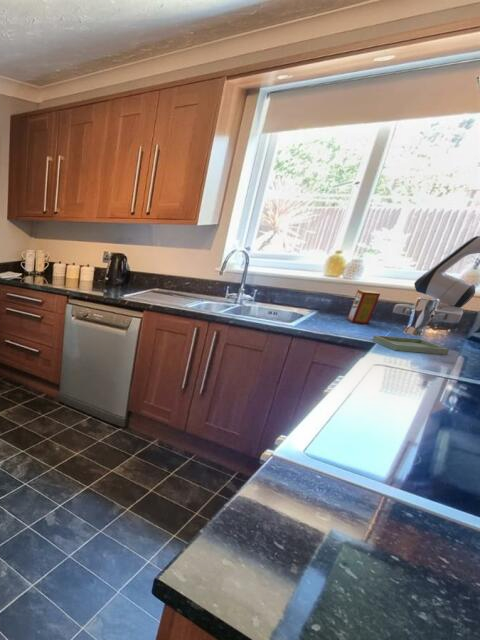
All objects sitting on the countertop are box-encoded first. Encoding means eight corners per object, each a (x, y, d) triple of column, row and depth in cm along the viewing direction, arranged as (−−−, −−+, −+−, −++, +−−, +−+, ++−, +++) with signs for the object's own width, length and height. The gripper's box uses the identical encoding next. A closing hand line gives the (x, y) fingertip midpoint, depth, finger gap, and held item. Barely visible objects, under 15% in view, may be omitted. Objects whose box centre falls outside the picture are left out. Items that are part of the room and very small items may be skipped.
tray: (419, 344, 184) (422, 339, 184) (446, 354, 170) (449, 349, 170) (372, 340, 188) (374, 335, 188) (394, 350, 174) (397, 344, 174)
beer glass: (429, 336, 174) (446, 300, 168) (412, 336, 174) (428, 300, 168) (413, 332, 181) (429, 297, 175) (396, 331, 181) (412, 296, 175)
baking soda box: (346, 318, 228) (358, 289, 222) (362, 320, 225) (374, 290, 219) (352, 322, 220) (363, 291, 214) (368, 324, 218) (380, 293, 212)
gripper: (401, 299, 188) (391, 302, 181) (468, 308, 172) (460, 312, 165) (395, 313, 190) (385, 316, 183) (461, 323, 174) (452, 327, 167)
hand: (421, 314), depth 174 cm, fingers closed on beer glass, 7 cm apart
